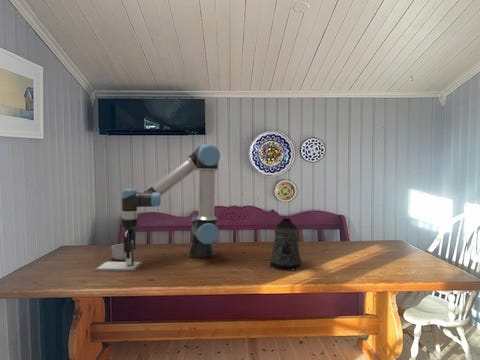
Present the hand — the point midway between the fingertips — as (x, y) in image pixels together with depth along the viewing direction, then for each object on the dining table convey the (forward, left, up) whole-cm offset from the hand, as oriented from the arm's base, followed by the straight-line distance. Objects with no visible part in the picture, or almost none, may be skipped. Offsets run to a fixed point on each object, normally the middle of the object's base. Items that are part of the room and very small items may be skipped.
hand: (130, 263), depth 183 cm
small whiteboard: (+6, 0, -2) cm, 6 cm away
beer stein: (-81, -5, -2) cm, 81 cm away
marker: (0, 0, -1) cm, 1 cm away
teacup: (+10, -17, -2) cm, 20 cm away
